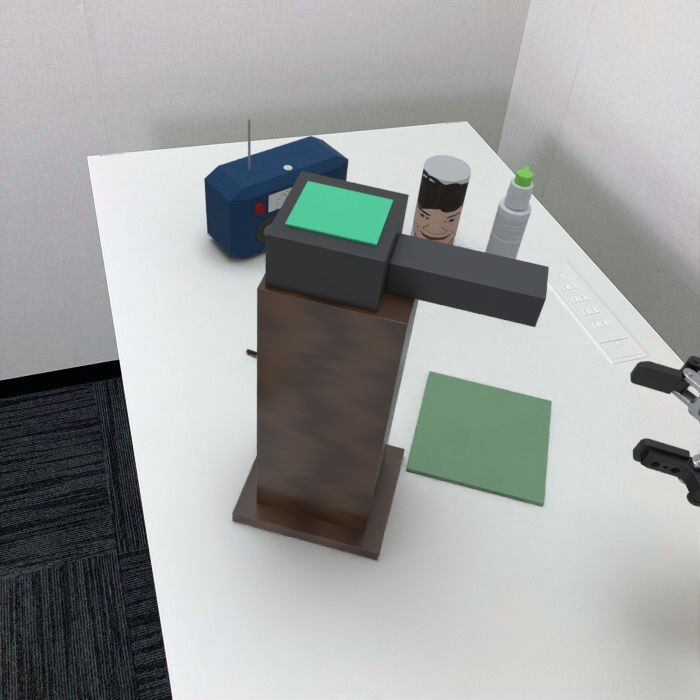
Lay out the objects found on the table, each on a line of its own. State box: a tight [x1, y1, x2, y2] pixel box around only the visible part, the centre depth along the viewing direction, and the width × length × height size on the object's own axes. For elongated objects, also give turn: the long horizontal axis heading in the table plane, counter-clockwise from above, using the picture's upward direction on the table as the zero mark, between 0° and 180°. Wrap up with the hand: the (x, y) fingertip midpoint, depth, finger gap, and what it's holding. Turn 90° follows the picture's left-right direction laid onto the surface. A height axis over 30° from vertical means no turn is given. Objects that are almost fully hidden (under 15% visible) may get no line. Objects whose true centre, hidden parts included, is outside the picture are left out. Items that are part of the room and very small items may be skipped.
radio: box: [203, 118, 349, 259], centre depth 107 cm, size 21×9×20 cm, turn 129°
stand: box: [231, 273, 420, 561], centre depth 71 cm, size 16×14×32 cm
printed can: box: [410, 154, 472, 245], centre depth 109 cm, size 7×7×15 cm
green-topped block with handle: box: [264, 171, 550, 328], centre depth 57 cm, size 21×9×5 cm, turn 76°
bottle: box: [484, 165, 534, 259], centre depth 102 cm, size 4×4×20 cm
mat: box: [405, 370, 553, 507], centre depth 90 cm, size 16×16×1 cm
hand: (635, 408), depth 61 cm, fingers open, 8 cm apart
